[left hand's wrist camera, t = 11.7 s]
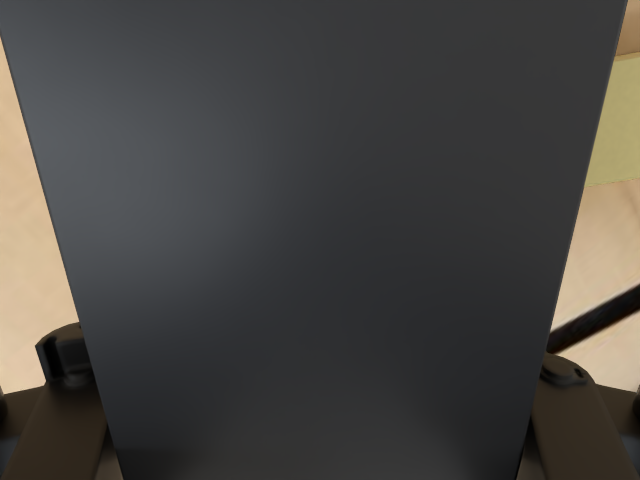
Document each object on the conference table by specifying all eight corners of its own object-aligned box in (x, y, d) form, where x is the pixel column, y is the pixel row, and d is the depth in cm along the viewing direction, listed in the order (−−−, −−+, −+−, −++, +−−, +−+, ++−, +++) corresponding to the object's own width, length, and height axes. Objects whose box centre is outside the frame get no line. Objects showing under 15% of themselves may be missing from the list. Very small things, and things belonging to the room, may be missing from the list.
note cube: (645, 157, 27) (696, 169, 24) (542, 174, 28) (576, 188, 24) (659, 47, 25) (719, 42, 21) (546, 68, 25) (585, 66, 22)
